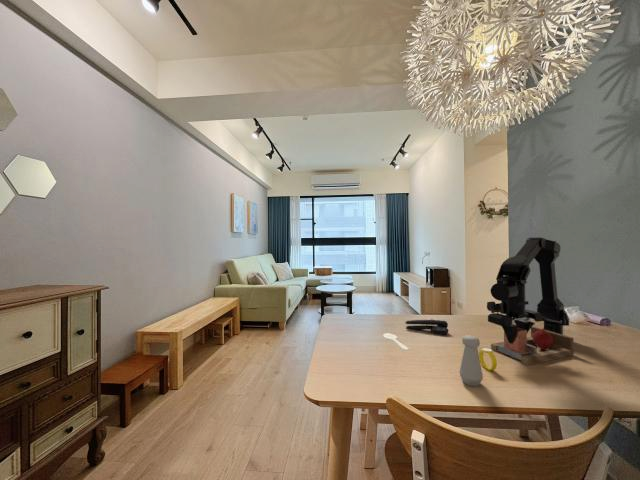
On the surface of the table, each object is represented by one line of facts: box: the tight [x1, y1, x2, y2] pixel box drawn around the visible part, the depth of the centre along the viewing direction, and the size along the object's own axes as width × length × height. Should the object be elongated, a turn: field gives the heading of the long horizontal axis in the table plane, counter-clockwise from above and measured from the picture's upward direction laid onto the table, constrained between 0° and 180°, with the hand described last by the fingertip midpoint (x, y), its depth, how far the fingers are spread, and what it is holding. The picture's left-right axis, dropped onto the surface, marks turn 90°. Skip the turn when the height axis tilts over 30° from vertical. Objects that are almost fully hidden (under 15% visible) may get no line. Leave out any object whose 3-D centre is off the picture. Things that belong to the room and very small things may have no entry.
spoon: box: [383, 332, 410, 351], centre depth 109 cm, size 5×18×1 cm, turn 11°
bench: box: [490, 325, 575, 366], centre depth 97 cm, size 22×13×6 cm, turn 108°
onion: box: [533, 327, 553, 351], centre depth 99 cm, size 6×6×8 cm
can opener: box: [405, 318, 449, 336], centre depth 120 cm, size 18×7×6 cm, turn 64°
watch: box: [478, 347, 498, 372], centre depth 85 cm, size 6×3×6 cm, turn 9°
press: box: [497, 328, 538, 362], centre depth 95 cm, size 7×8×9 cm
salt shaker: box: [458, 334, 484, 388], centre depth 77 cm, size 6×6×13 cm
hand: (515, 342), depth 94 cm, fingers closed on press, 4 cm apart
